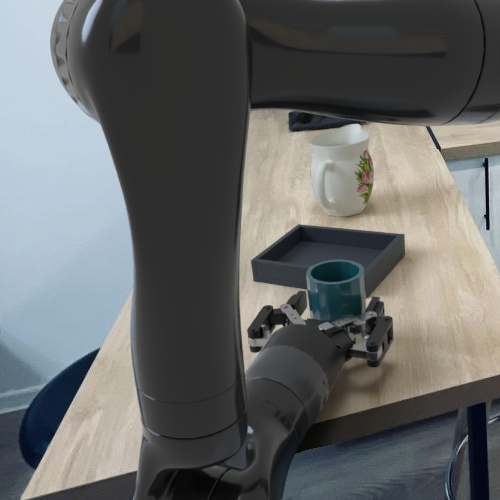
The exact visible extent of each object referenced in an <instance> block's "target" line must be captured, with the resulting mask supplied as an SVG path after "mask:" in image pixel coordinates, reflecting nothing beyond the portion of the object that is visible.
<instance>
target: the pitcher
mask: <svg viewBox="0 0 500 500" xmlns="http://www.w3.org/2000/svg"><path fill="white" fill-rule="evenodd" d="M370 137H371V135H370V133H369V132H368V131H367V130H365V129H363V128H362V125H361V124H359V123H357V124H349V125H346V126H343V127H338V128H336V129H332V130H328V131H325V132H322V133H319V134H318V135H315V136H314V137H312V138H311V139H310V140H309V147H310V150H311V153H312V159H311V163H310V169H309V170H310V171H309V172H310V181H311V187H312V191H313V193H314V196H315V198H316V200H317V203H318V204H319V206H320V208H321V209H322V210H323V211H324V212H325V213H326V214H327V215H329V216H331V217H339V218H344V217H352V216H356V215H358V214H360V213H362V212H363V211H364V209H365V208H366V207H367V205H368V203H369V201H370V199H371V196H372V191H373V186H374V181H375V180H374V179H375V178H374V177H375V172H374V171H375V170H374V163H373V160H372V156H371V154H370V152H369V143H370V139H371V138H370Z"/></svg>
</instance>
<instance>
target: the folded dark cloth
mask: <svg viewBox="0 0 500 500" xmlns="http://www.w3.org/2000/svg"><path fill="white" fill-rule="evenodd" d="M287 115H288V116H287V117H288V122H287V123H288V130H289V131H292V132H297V131H313V130H321V129H331V128H341V127H343V126H346V125H349V124H359V123H361V122H362V121H357V120H350V119H343V118H337V117H331V116H325V115H319V114H313V113H306V112H299V111H289V112H288V113H287Z"/></svg>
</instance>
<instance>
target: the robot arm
mask: <svg viewBox="0 0 500 500" xmlns="http://www.w3.org/2000/svg"><path fill="white" fill-rule="evenodd" d="M50 29H51V30H50V35H49V36H50V37H49V50H50V57H51V61H52V65H53V68H54V72H55V74H56V76H57V78H58V80H59V82H60V84H61V86H62V87H63V89H64V90H65V92H66V94H67V96H69V98H70V99H71V100H72V101H73V102H74V103H75V105H77V107H78V108H79V109H80V110H81V111H82V112H83V113H84V114H85V115H87V116H88V117H89V118H90V119H92V120H93V121H95V122H96V123H98V124H99V125H100V127H101V130H102V132H103V135H104V138H105V141H106V144H107V147H108V149H109V154H110V156H111V158H112V162H113V166H114V169H115V172H116V176H117V179H118V182H119V186H120V189H121V193H122V196H123V201H124V205H125V209H126V215H127V220H128V226H129V232H130V241H131V250H132V251H131V252H132V264H133V268H132V269H133V275H132V276H133V279H132V295H131V308H130V321H129V322H130V323H129V324H130V325H129V327H130V328H129V331H130V332H129V335H130V336H129V337H130V338H129V339H130V352H131V353H130V355H131V365H132V371H133V372H132V373H133V378H134V385H135V391H136V392H135V393H136V399H137V404H138V411H139V417H140V422H141V427H142V428H141V429H142V430H141V439H140V440H141V442H140V447H139V456H138V463H137V471H136V478H135V482H134V483H135V484H134V488H133V493H132V499H131V500H283V499H284V494H285V493H284V492H285V488H286V482H287V479H288V474H289V471H290V467H291V464H292V461H293V459H294V457H295V455H296V453H297V452H298V449H299V448H300V446H301V444H302V442H303V441H304V438H305V436H306V434H307V433H308V431H309V430H310V429H311V428H312V426H313V425H314V424H315V422H316V421H317V419H318V417H319V416H320V414H321V412H322V410H323V409H324V407H325V406H326V405H327V402H328V400H329V399H328V398H329V397H330V395H331V393H332V391H333V389H334V387H335V385H336V383H337V381H338V379H339V377H340V375H341V372H342V370H343V367H344V365H345V364H346V363H348V362H349V361H351V360H352V359H353V358H356V359H362V360H366V365H367V367H368V368H371V369H372V368H374V369H375V368H377V367H380V365H381V363H382V362H383V360H384V358H385V357H386V354H387V353H388V351H389V349H390V347H391V345H392V344H393V342H394V340H395V339H394V338H395V337H394V319H393V316H390V315H386V313H385V302H384V301H383V300H382V301H381V297H380V296H372V297H371V299H370V300H369V303H368V305H366V310H365V313H363V314H361V315H358V316H356V317H355V316H353V315H348V316H345V317H343V318H340V319H338V320H335V321H332V320H323V321H321V320H317V319H311V318H310V317H308V318H306V319H304V318H302V315H304V312H305V311H306V310H307V307H308V296H307V291H306V290H298V291H297V292H296V293H294V294H293V295H291V296H289V298H288V300H287V301H286V302H285V303H282V304H280V305H279V307H278V308H274V306H273V305H271V304H266V305H264V306H262V308H261V309H260V310H259V312H258V313H257V314H256V316H255V318H254V319H253V320H252V322H251V323H250V325H249V326H248V327H247V329H246V333H247V341H248V345H249V351H250V352H251V353H252V354H253V353H254V354H257V353H258V354H257V356H256V357H254V359H253V361H252V362H251V364H250V365H249V367H248V368H247V369H246V370H245V359H244V346H243V335H242V321H241V301H240V298H241V295H240V264H241V263H240V260H241V259H240V258H241V237H242V236H241V235H242V219H243V218H242V217H243V201H244V200H243V198H244V181H245V169H246V159H247V147H248V139H249V129H250V128H249V127H250V119H251V111H268V110H269V111H271V110H272V111H289V112H291V111H299V112H306V113H313V114H319V115H325V116H331V117H337V118H343V119H350V120H357V121H361V122H364V123H366V122H367V123H373V124H382V125H392V126H393V125H395V126H407V127H449V126H451V127H452V126H469V125H481V124H482V125H483V124H488V123H495V122H499V121H500V0H62V2H61V3H60V5H59V7H58V9H57V11H56V13H55V15H54V19H53V22H52V25H51V28H50ZM364 324H365V325H366V330H363V331H361V326H362V325H364ZM277 326H281V327H280V328H278V329H277V330H275V329H276V327H277ZM347 327H348V334H349V335H348V334H347V332H346V331H345V330H344V329H345V328H347Z"/></svg>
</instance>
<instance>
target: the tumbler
mask: <svg viewBox="0 0 500 500" xmlns="http://www.w3.org/2000/svg"><path fill="white" fill-rule="evenodd" d="M306 279H307V289H306V290H307V299H308V306H309V315H310V316H309V318H311V319H317V320H321V321H323V320H332V321H335V320H338V319H340V318H343V317H345V316H348V315H353V316H355V317H356V316H358V315H361V314H363V313H365V310H366V308H367V298H366V294H365V279H364V268H363V267H362V266H361V265H360V264H359V263H356V262H354V261H350V260H329V261H324V262H320V263H317V264H315V265H313V266H311V267H310V268H309V269H308V270H307V273H306ZM344 330H345V331H346V332H347V334H348V327H347V328H345V329H344ZM363 330H366V325H365V324H364V325H362V326H361V331H363ZM348 335H349V334H348Z"/></svg>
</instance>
